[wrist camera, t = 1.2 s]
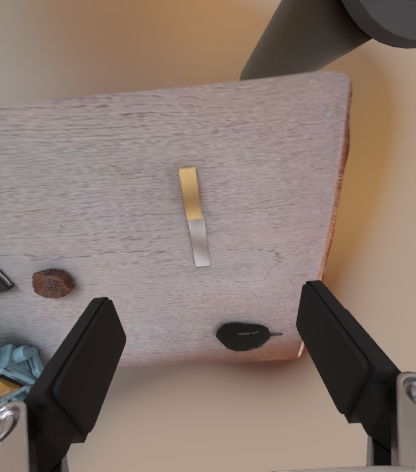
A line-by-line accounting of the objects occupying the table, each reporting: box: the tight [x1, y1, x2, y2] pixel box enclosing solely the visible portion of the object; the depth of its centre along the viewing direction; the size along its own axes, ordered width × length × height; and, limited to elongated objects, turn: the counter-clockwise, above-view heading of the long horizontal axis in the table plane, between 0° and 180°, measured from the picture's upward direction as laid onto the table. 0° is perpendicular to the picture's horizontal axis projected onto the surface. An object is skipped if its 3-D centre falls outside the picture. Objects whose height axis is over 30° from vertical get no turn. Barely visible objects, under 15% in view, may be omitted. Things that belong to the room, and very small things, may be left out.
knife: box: [179, 166, 210, 267], centre depth 30 cm, size 17×3×3 cm, turn 6°
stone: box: [32, 269, 74, 298], centre depth 35 cm, size 7×7×3 cm
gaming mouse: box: [216, 323, 282, 351], centre depth 42 cm, size 6×15×4 cm, turn 85°
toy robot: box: [0, 344, 44, 403], centre depth 42 cm, size 13×11×30 cm
